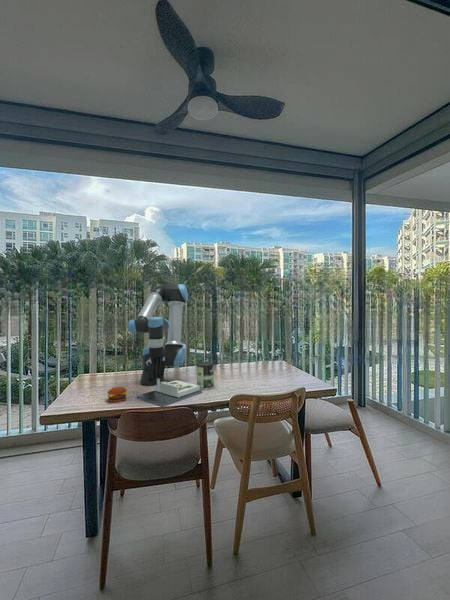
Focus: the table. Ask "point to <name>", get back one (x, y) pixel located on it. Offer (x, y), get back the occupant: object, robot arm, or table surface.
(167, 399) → the base
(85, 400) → the table surface
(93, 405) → the table surface
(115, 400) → the hamburger
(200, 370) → the coffee can
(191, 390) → the panel
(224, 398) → the table surface
